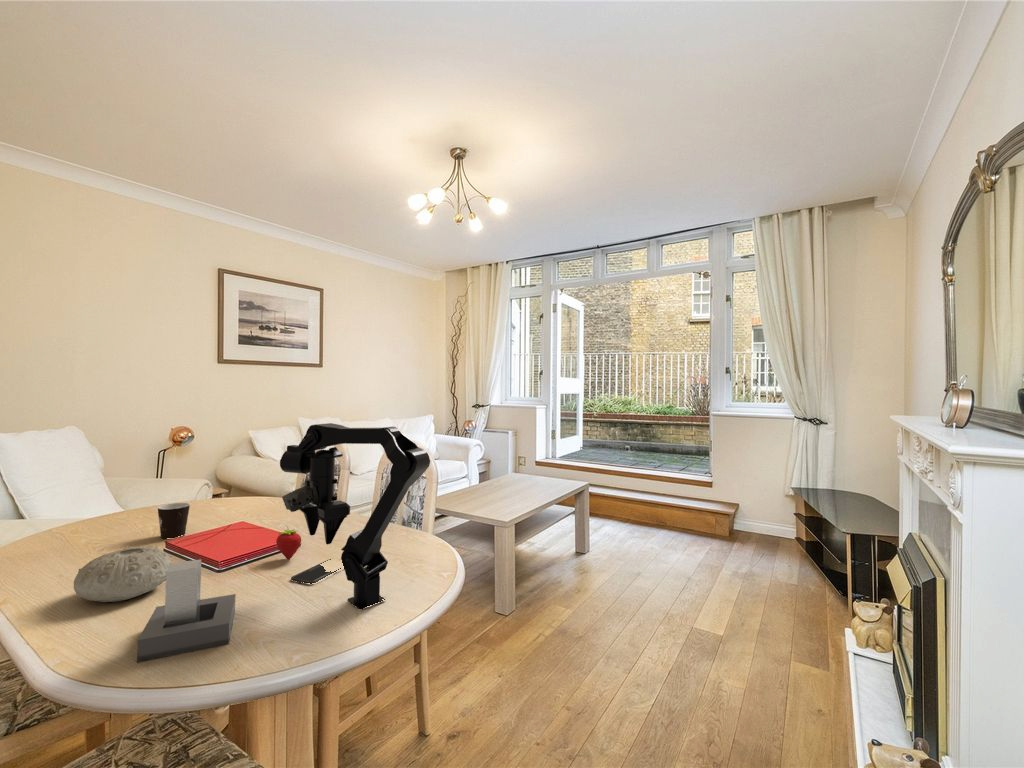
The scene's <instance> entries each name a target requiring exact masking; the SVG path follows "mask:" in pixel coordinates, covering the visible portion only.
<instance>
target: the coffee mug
mask: <svg viewBox="0 0 1024 768" xmlns="http://www.w3.org/2000/svg"><path fill="white" fill-rule="evenodd" d="M190 506H191V503H188V502H174V503H167V504H163V505H160V506H158V507H157V514H158V515H157V516H158V523H159V532H160V538H162V540H168V539H167V538H175V537H178V536H181V535H184V534H185V535H186V530H187V525H188V524H187V523H188V518H189V511H190ZM185 535H184V536H185ZM175 539H176V538H175Z"/></svg>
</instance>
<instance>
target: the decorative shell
mask: <svg viewBox="0 0 1024 768" xmlns="http://www.w3.org/2000/svg"><path fill="white" fill-rule="evenodd" d="M171 563H172V559H171V558H170V556H169V555H168V554H167V552H166V551H164V550H162V549H160V548H159V547H158V546H155V547H152V546H140V545H139V546H131V547H127V548H124V547H123V548H122V549H118V550H116V551H112V552H109V553H105V554H102V555H100V556H98V557H95V558H94V559H92V560H90V561H89V562H87V563H86V564H85V565H83V566H82V567H81V568H78V572H77V574H76V575H75V578H74V580H73V590H74V593H75V594H76V595H77V597H80V598H81V599H83V600H87V601H90V602H91V601H92V602H100V603H109V602H110V603H111V602H112V603H113V602H122V601H126V600H129V599H133V598H135V597H138V596H141V595H143V594H146V593H148V592H151V591H153V590H155V589H156V588H157V587H160V585H162V584H163V583H164V582H166V572H167V570H168V568H169V567H170V565H171Z"/></svg>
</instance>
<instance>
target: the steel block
mask: <svg viewBox="0 0 1024 768" xmlns="http://www.w3.org/2000/svg"><path fill="white" fill-rule="evenodd" d="M201 581H202V558H201V559H192V560H186V561H178V562H171V565H170V567H169V568H168V570H167V572H166V581H165V597H164V598H165V599H164V605H165V624H164V628H168V627H173V626H179V625H184V624H190V623H196V622H199V621H200V600H201V588H202V587H201V584H202V583H201Z"/></svg>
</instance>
